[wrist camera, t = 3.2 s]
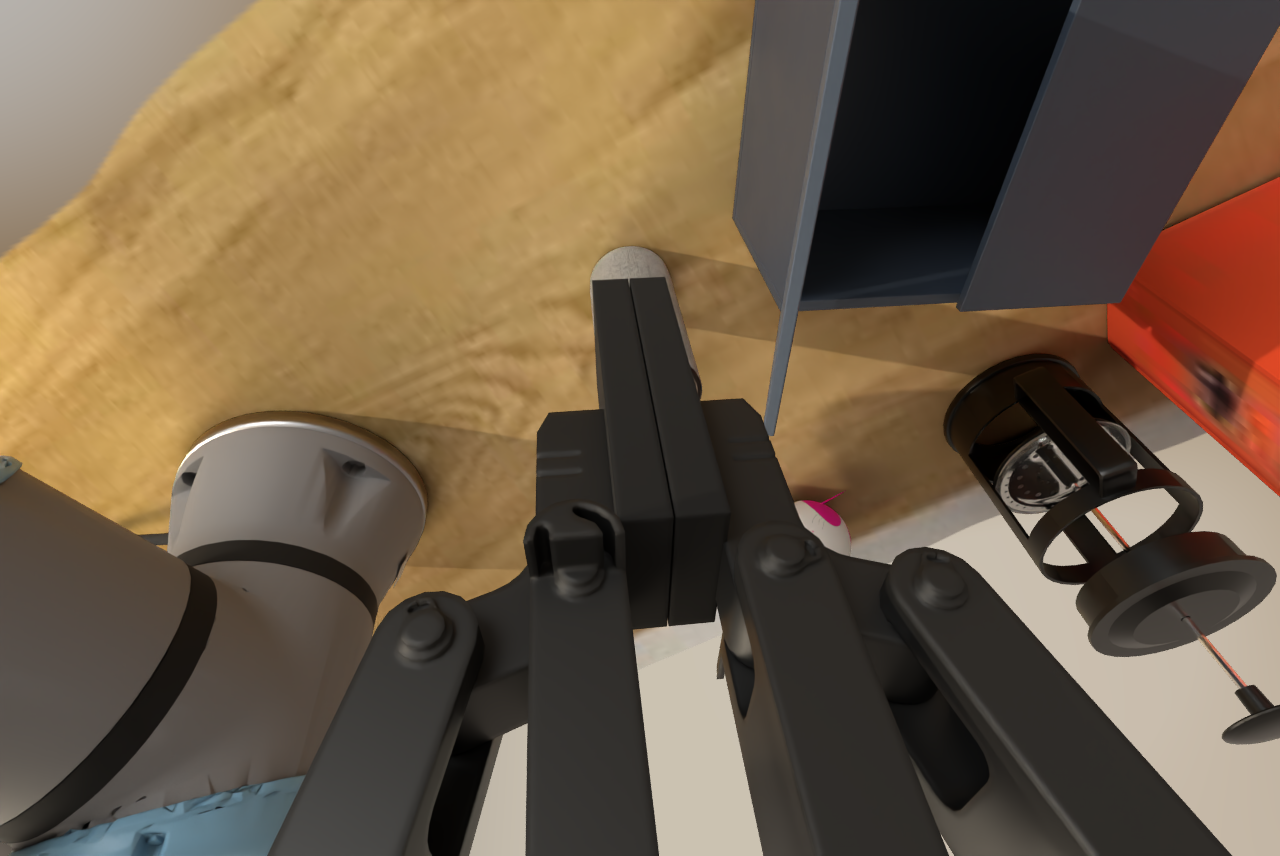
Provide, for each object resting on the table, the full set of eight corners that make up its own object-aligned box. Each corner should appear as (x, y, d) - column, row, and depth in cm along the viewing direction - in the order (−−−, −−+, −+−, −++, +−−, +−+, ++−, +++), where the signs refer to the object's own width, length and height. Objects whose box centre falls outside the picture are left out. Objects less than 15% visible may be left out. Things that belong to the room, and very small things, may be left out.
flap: (789, 320, 27) (779, 319, 27) (862, -72, 18) (847, -72, 18) (773, 436, 21) (761, 434, 21) (867, -42, 13) (846, -42, 13)
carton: (732, 218, 34) (785, 322, 27) (765, -95, 26) (857, -74, 18) (998, 207, 36) (1121, 304, 28) (1114, -95, 27) (1340, -74, 19)
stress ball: (825, 494, 55) (892, 524, 50) (774, 571, 54) (837, 610, 49) (786, 449, 51) (855, 478, 46) (729, 533, 50) (793, 572, 45)
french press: (1077, 429, 49) (1365, 741, 31) (952, 476, 51) (1159, 793, 33) (1076, 311, 41) (1454, 636, 24) (930, 372, 43) (1182, 711, 26)
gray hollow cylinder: (577, 260, 35) (586, 374, 27) (657, 233, 34) (689, 342, 27) (604, 326, 38) (619, 446, 30) (678, 303, 37) (712, 418, 30)
